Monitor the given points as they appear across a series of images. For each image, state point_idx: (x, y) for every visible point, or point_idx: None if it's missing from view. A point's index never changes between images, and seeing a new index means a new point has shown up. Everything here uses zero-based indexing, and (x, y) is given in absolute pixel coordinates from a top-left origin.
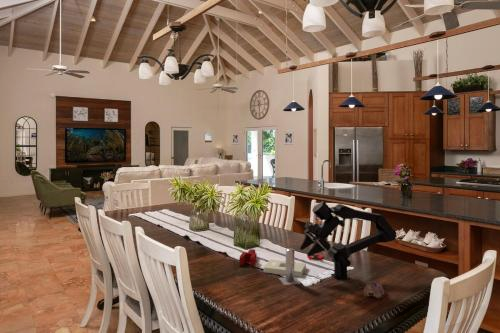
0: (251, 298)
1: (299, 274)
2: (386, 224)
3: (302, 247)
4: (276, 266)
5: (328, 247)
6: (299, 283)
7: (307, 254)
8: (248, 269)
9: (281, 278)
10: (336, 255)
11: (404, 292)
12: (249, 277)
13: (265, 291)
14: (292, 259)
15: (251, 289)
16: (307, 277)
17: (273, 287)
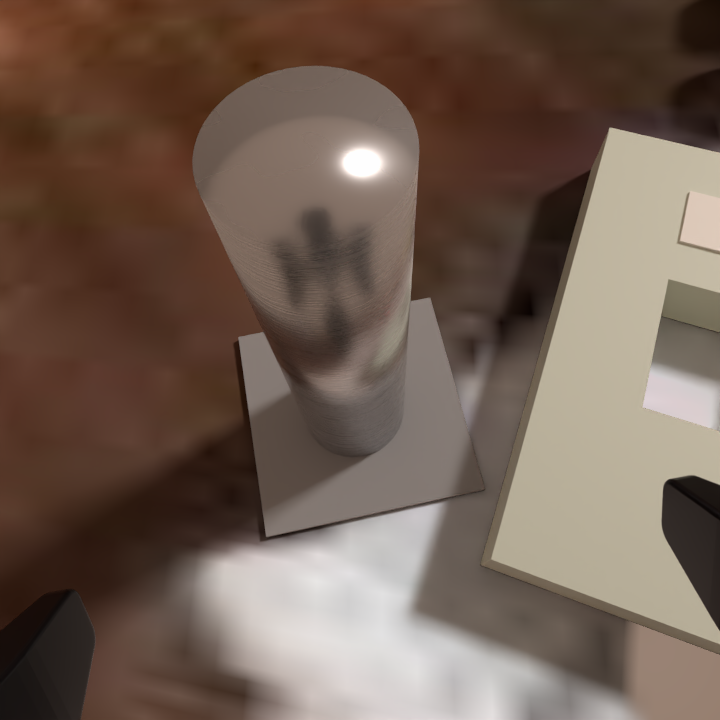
0: (20, 89)
1: (491, 539)
2: None
3: (707, 551)
4: (664, 257)
5: None
6: (262, 507)
7: (35, 602)
8: (657, 52)
9: (417, 324)
10: None
11: None
12: (448, 65)
13: (126, 178)
14: (251, 304)
15: (185, 85)
16: (477, 656)
17: (202, 242)
